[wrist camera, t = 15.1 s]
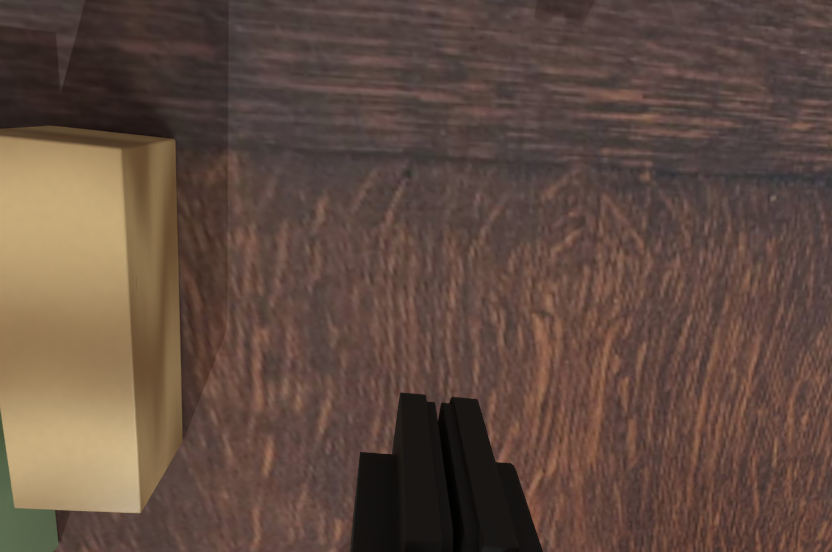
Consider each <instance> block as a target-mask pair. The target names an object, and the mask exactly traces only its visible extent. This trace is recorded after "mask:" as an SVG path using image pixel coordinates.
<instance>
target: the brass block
mask: <svg viewBox="0 0 832 552" xmlns="http://www.w3.org/2000/svg"><path fill="white" fill-rule="evenodd" d="M0 411H1V418H2V425H3V432H4V439H5V446H6V453H7V460H8V467H9V473H10V480H11V487H12V494H13V501H14V507H15V508H24V509H49V510H73V511H98V512H122V513H141V512H142V510H143V508H144V507H145V505H146V503H147V501H148V500H149V498H150V496H151V495H152V493H153V491H154V489H155V488H156V486H157V484H158V483H159V481H160V479H161V478H162V476H163V474H164V472H165V471H166V469H167V467H168V466H169V464H170V462H171V460H172V459H173V457H174V455H175V454H176V452H177V450H178V449H179V447H180V445H181V443H182V442H183V433H182V392H181V351H180V310H179V269H178V228H177V187H176V146H175V139H171V138H162V137H152V136H143V135H134V134H125V133H115V132H106V131H97V130H88V129H78V128H69V127H60V126H37V127H21V128H5V129H0Z"/></svg>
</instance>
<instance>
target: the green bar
mask: <svg viewBox="0 0 832 552" xmlns="http://www.w3.org/2000/svg"><path fill="white" fill-rule="evenodd" d="M58 544H59V542H58V533H57V523H56V514H55V510H49V509H24V508H15V507H14V501H13V494H12V487H11V480H10V473H9V467H8V460H7V453H6V446H5V439H4V432H3V425H2V418H1V411H0V552H54V551H55V549H56V548H57V546H58Z"/></svg>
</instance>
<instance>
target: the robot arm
mask: <svg viewBox="0 0 832 552" xmlns="http://www.w3.org/2000/svg"><path fill="white" fill-rule="evenodd" d="M350 552H543V551H542V548H541V545H540V542H539V539H538V536H537V533H536V530H535V527H534V524H533V521H532V517H531V514H530V511H529V508H528V505H527V502H526V499H525V496H524V493H523V490H522V487H521V484H520V481H519V478H518V475H517V472H516V470H515V467H514V465H512V464H511V463H499V462H495V459H494V456H493V452H492V448H491V445H490V441H489V438H488V434H487V431H486V427H485V424H484V420H483V417H482V413H481V410H480V406H479V403H478V400H477V399H469V398H458V397H452V398H451V400H450V404H449V403H442V404H441V407H440V413H439V419H438V420H437V413H436V406H435V402H427V400H426V395H422V394H411V393H400V397H399V404H398V412H397V420H396V427H395V435H394V442H393V450H392V454H379V453H366V452H360V458H359V468H358V477H357V486H356V496H355V506H354V516H353V527H352V538H351V549H350Z"/></svg>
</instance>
